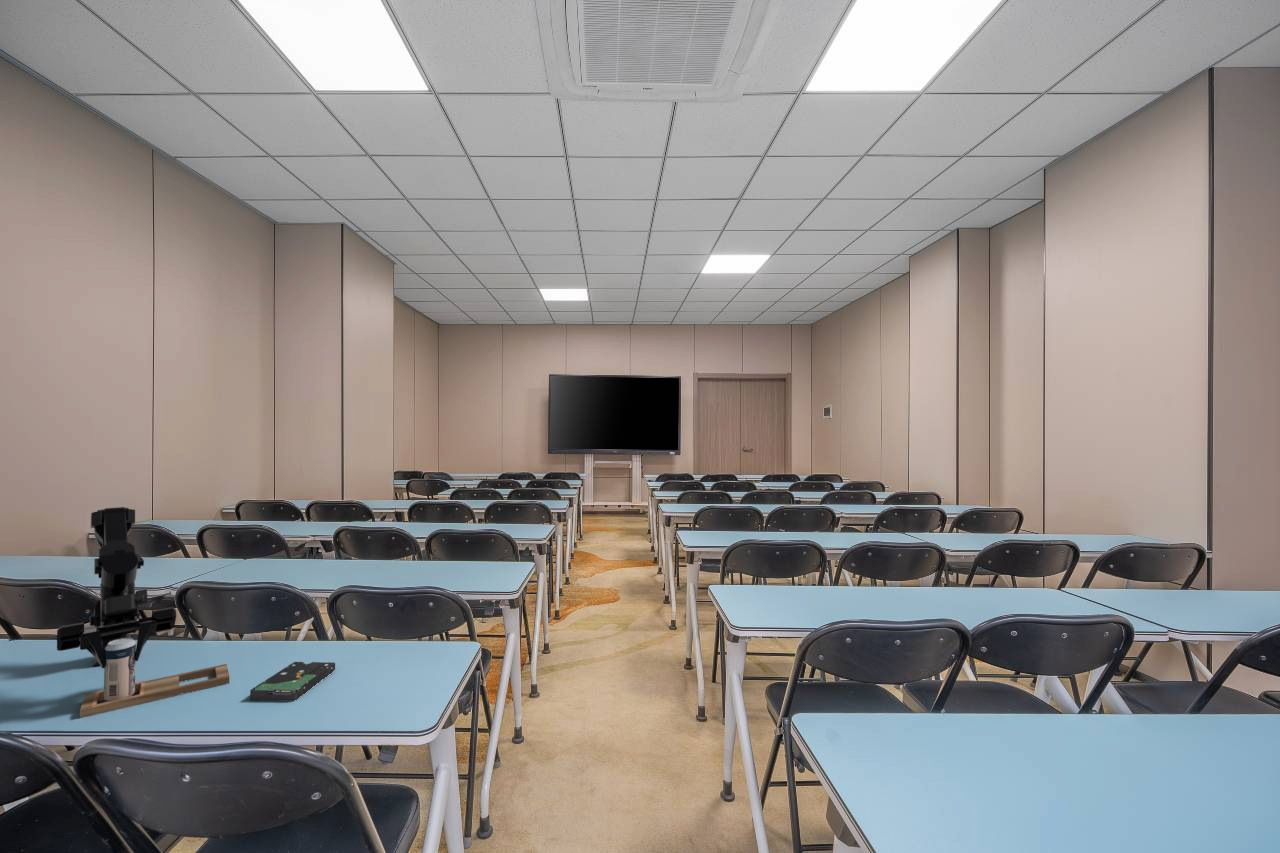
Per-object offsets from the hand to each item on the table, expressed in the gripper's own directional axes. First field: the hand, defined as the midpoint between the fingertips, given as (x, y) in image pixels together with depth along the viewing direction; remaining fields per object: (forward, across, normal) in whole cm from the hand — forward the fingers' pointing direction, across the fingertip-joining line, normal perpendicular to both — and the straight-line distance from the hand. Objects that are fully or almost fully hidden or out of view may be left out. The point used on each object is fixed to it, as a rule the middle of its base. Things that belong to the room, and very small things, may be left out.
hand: (120, 663), depth 116 cm
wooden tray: (+6, +6, +6) cm, 11 cm away
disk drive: (+18, +28, -6) cm, 34 cm away
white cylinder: (+5, 0, +6) cm, 8 cm away
